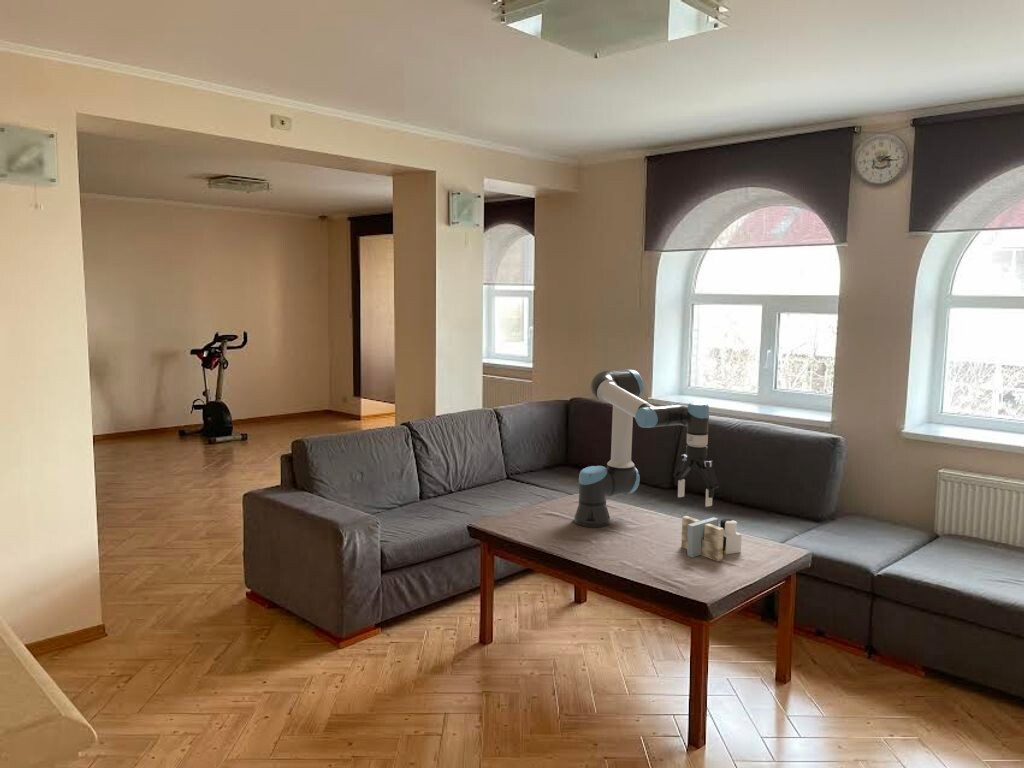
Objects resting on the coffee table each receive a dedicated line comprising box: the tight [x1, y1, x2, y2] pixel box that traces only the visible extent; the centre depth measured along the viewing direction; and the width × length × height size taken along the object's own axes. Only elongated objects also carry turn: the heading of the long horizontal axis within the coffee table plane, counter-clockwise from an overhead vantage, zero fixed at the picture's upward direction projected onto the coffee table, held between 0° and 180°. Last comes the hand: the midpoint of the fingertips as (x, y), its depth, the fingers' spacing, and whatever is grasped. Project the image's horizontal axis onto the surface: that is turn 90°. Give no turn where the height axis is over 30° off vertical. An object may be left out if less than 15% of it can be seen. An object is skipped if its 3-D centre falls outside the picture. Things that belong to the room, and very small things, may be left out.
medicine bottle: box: [719, 518, 742, 555], centre depth 281 cm, size 7×7×12 cm
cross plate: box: [686, 517, 719, 558], centre depth 278 cm, size 14×2×12 cm, turn 123°
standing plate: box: [680, 515, 724, 562], centre depth 278 cm, size 18×2×12 cm, turn 33°
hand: (694, 501), depth 274 cm, fingers open, 13 cm apart
